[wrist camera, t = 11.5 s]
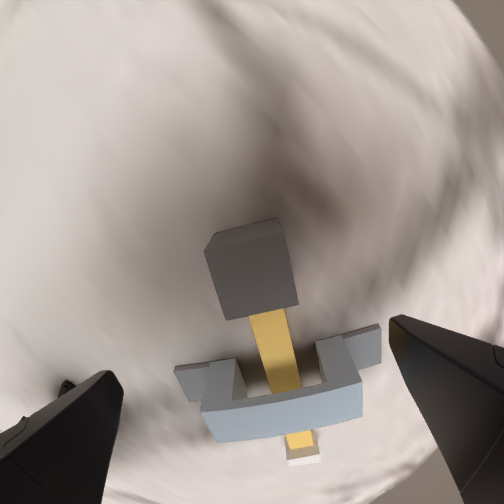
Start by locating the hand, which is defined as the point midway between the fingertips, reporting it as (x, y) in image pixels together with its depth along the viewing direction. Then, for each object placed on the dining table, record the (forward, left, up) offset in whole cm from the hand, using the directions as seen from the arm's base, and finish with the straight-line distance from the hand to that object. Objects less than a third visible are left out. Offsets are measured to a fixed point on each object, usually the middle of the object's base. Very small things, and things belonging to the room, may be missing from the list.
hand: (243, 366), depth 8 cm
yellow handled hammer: (-6, -7, -11) cm, 14 cm away
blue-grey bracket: (-7, -8, -11) cm, 15 cm away
